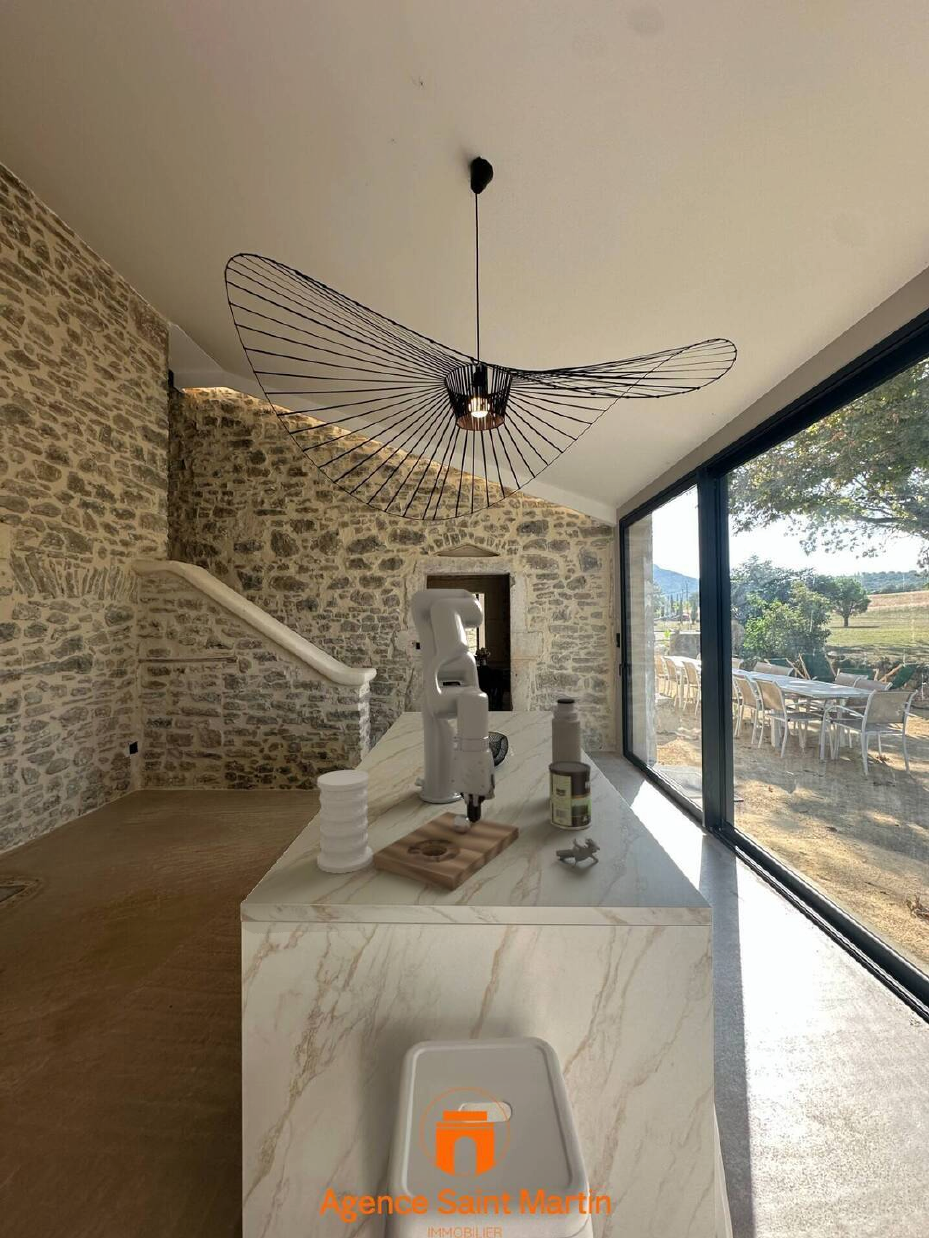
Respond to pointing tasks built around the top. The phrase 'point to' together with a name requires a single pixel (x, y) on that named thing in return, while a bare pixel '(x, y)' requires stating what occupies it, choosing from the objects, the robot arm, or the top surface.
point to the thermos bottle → (566, 732)
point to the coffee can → (570, 795)
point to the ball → (461, 823)
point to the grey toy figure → (580, 851)
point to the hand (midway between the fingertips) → (474, 820)
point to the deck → (445, 851)
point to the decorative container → (344, 821)
